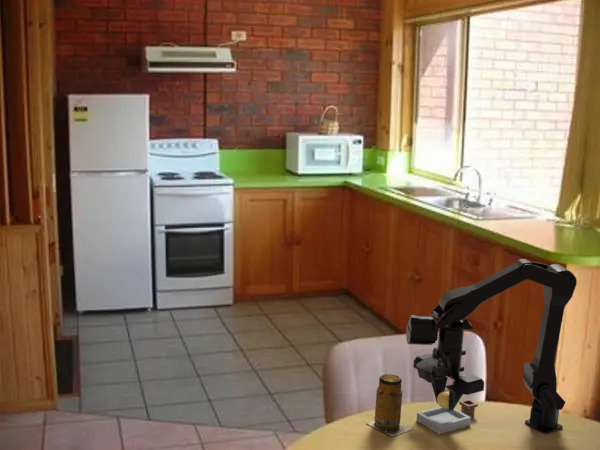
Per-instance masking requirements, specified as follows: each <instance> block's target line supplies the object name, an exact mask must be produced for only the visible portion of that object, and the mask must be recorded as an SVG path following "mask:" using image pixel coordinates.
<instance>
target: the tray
mask: <svg viewBox="0 0 600 450" xmlns="http://www.w3.org/2000/svg"><path fill="white" fill-rule="evenodd" d="M471 420H472V418H471V417H469V416H467V415H466V414H464V413H462V412H461V411H460V410H458V409H456V407H455V408H454V410H451V411H450V410H449V408H447V409H445V408H442V407H440V406H437V407H433V408H430V409H425V410H422V411H419V412H416V421H417V422H419V423H420V424H422V425H423V426H426V427H427V428H428V429H430V430H431V431H434V432H435V433H436V434H438V435H441V434H444V433H448V432H451V431H455V430H459V429H462V428H466V427H469V426H471Z"/></svg>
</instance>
